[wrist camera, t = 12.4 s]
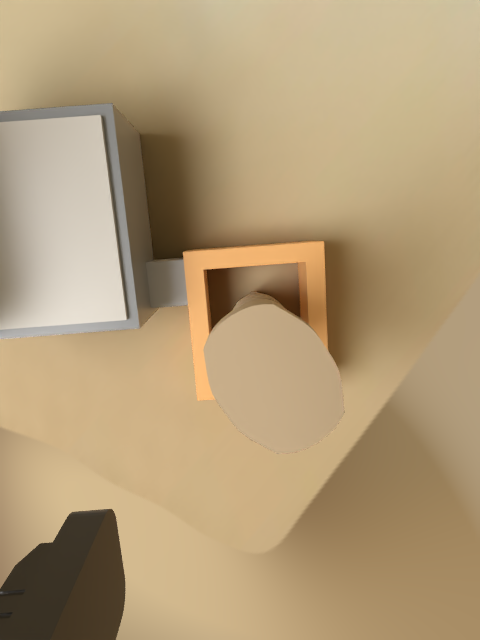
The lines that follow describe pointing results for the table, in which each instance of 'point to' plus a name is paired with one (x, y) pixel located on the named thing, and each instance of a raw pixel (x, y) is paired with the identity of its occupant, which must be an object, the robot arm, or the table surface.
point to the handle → (273, 376)
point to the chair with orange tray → (106, 236)
